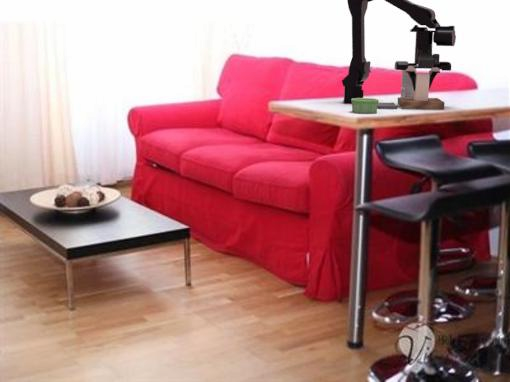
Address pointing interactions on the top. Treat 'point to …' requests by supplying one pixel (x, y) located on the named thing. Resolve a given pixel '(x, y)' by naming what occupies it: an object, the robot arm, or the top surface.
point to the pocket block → (421, 103)
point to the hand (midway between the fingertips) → (421, 90)
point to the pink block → (421, 87)
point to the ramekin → (364, 105)
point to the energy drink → (406, 85)
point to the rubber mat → (386, 106)
